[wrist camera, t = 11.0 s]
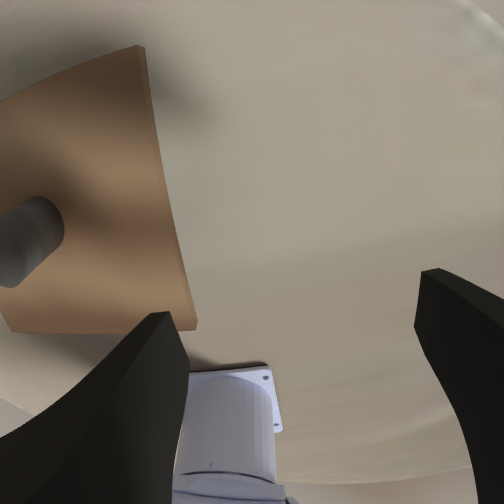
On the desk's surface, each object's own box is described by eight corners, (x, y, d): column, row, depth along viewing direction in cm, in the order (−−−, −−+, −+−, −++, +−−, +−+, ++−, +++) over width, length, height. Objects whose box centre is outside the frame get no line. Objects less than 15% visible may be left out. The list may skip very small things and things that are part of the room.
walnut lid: (197, 320, 16) (184, 383, 12) (17, 324, 17) (-14, 366, 13) (144, 47, 10) (98, 26, 6) (-46, 135, 11) (-97, 152, 7)
